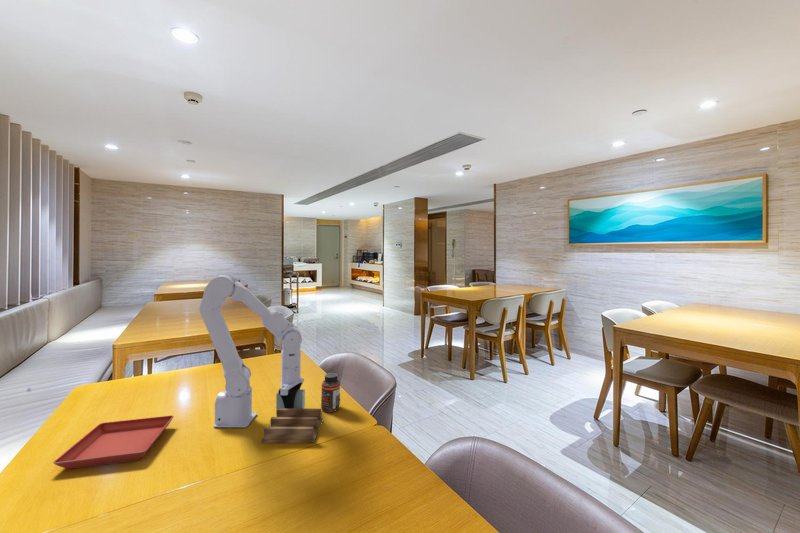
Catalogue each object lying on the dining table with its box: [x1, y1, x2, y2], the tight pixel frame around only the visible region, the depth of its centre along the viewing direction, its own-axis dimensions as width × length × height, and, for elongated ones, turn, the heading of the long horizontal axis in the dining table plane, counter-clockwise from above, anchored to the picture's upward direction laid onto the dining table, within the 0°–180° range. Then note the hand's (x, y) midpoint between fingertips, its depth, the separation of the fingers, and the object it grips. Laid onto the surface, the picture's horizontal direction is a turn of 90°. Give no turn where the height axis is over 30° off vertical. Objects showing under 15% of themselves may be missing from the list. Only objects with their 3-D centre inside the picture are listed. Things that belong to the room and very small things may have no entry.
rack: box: [260, 408, 324, 444], centre depth 94 cm, size 14×12×4 cm
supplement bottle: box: [320, 372, 341, 413], centre depth 108 cm, size 6×6×11 cm
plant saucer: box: [52, 414, 174, 470], centre depth 85 cm, size 18×18×3 cm
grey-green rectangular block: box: [275, 388, 306, 416], centre depth 104 cm, size 8×3×7 cm, turn 92°
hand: (290, 408), depth 104 cm, fingers closed on grey-green rectangular block, 3 cm apart
